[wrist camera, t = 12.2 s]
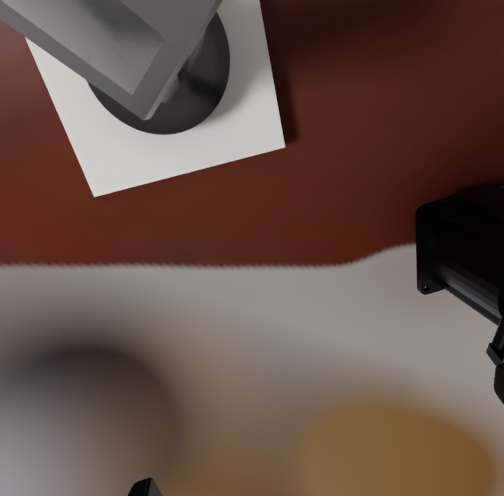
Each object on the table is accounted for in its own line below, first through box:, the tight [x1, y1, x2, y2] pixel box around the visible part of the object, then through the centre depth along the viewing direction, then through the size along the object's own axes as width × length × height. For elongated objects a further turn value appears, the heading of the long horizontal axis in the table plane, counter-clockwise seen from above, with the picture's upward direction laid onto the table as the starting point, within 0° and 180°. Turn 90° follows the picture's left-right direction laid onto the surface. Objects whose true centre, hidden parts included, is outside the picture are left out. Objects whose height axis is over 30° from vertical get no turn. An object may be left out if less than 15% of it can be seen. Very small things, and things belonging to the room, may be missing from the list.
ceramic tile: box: [25, 0, 285, 197], centre depth 15 cm, size 10×10×1 cm
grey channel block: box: [0, 0, 230, 135], centre depth 10 cm, size 6×6×12 cm
